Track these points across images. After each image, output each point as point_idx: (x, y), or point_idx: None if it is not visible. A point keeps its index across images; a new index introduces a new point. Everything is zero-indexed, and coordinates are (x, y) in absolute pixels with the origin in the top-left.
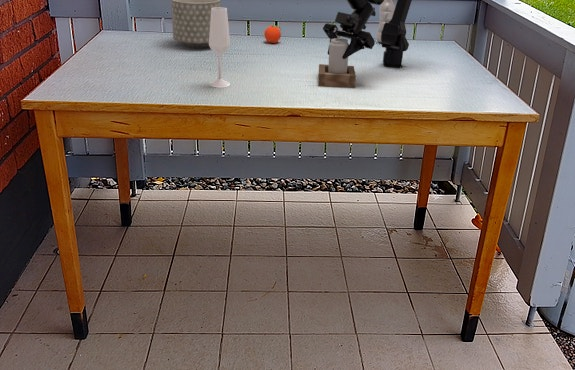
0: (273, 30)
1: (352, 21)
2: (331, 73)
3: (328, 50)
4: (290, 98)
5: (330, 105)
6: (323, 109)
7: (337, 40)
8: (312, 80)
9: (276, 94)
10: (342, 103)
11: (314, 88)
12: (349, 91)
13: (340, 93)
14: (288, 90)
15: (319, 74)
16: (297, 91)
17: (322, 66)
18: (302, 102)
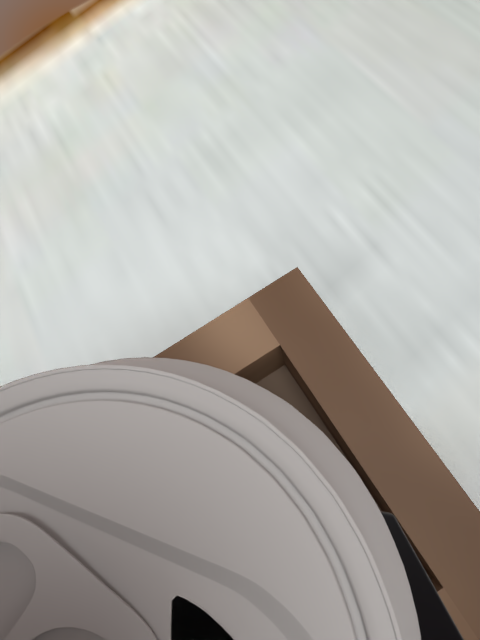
0: None
1: None
2: (216, 364)
3: (404, 552)
4: (285, 20)
5: (60, 84)
6: (66, 27)
7: (100, 583)
8: (427, 397)
9: (390, 10)
10: (18, 146)
11: (286, 242)
12: (60, 355)
13: (94, 276)
14: (390, 99)
15: (293, 270)
16: (333, 123)
17: (451, 544)
18: (198, 23)
